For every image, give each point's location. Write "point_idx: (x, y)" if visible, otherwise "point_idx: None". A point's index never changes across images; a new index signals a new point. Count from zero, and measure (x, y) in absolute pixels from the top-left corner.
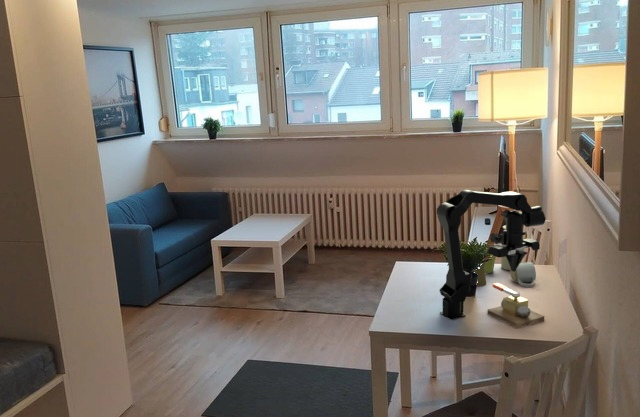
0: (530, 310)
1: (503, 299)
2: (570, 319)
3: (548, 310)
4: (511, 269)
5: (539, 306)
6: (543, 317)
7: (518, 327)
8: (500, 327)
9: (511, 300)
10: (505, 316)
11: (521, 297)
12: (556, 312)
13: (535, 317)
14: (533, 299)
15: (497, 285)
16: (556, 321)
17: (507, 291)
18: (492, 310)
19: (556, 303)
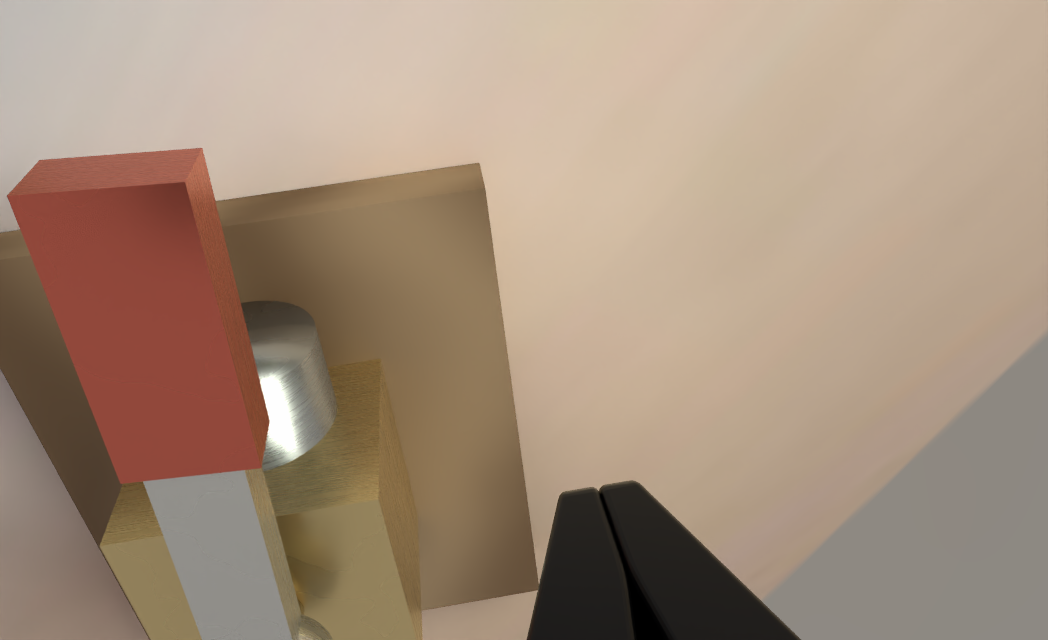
0: (514, 449)
1: (107, 526)
2: (761, 581)
3: (766, 383)
4: (554, 542)
5: (777, 263)
6: (526, 585)
7: None
8: (6, 573)
9: (184, 633)
10: None
11: (394, 586)
12: (790, 443)
13: (439, 589)
14: (917, 28)
15: (89, 334)
16: None
17: (186, 572)
18: (16, 320)
19: (1013, 255)
